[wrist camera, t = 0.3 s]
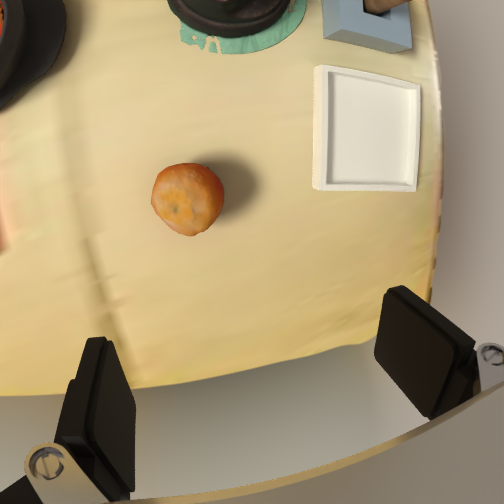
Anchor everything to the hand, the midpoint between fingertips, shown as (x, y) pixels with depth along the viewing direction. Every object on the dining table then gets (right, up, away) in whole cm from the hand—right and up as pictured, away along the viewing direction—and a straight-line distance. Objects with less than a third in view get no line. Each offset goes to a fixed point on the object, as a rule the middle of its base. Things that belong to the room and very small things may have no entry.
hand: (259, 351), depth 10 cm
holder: (+14, +37, +23) cm, 46 cm away
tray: (+15, +20, +30) cm, 39 cm away
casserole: (-34, +29, +14) cm, 47 cm away
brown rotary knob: (-3, +36, +20) cm, 41 cm away
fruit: (-8, +10, +28) cm, 31 cm away
